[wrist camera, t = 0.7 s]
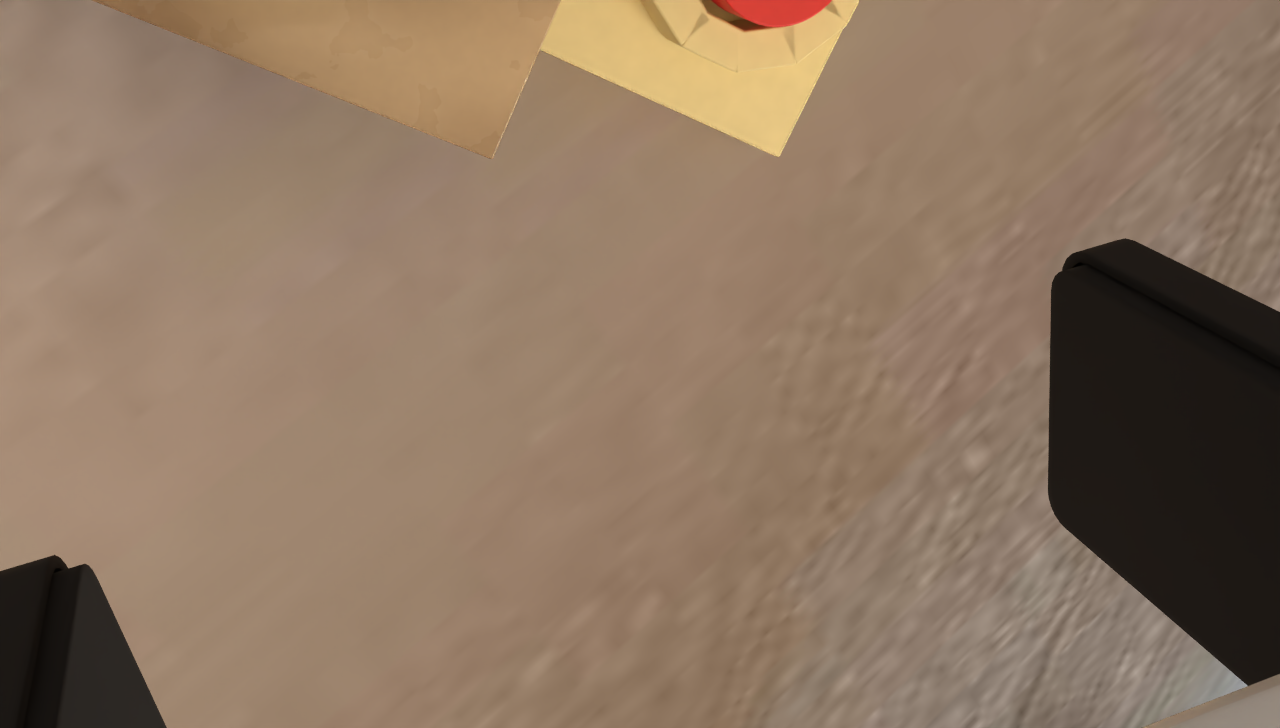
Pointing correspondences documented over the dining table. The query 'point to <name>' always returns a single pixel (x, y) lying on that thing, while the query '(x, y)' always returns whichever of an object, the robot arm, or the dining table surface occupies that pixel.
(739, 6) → the red button
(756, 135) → the button box
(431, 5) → the cabinet
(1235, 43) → the dining table surface
